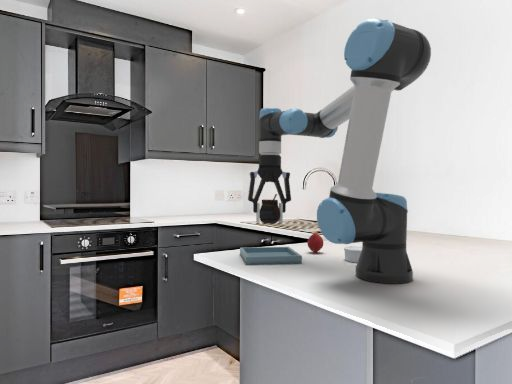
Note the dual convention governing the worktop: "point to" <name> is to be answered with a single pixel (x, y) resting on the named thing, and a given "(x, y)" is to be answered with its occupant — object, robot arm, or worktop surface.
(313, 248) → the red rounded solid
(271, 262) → the slate tray
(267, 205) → the mate gourd
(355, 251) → the ramekin
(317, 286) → the worktop surface
